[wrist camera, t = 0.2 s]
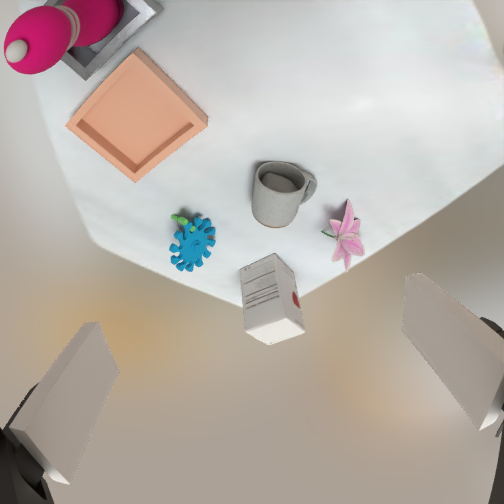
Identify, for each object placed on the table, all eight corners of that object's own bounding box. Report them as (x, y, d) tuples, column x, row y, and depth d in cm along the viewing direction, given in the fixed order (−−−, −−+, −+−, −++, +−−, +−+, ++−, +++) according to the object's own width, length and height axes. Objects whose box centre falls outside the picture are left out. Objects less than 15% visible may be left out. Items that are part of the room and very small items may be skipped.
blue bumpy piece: (222, 252, 60) (182, 284, 54) (201, 240, 63) (163, 269, 57) (212, 203, 52) (165, 236, 47) (189, 194, 55) (145, 223, 50)
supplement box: (294, 272, 70) (307, 333, 60) (260, 287, 73) (267, 346, 63) (275, 251, 63) (286, 317, 54) (238, 268, 67) (243, 333, 57)
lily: (353, 238, 64) (384, 257, 56) (308, 265, 62) (336, 288, 54) (344, 187, 58) (378, 201, 50) (294, 212, 56) (325, 231, 48)
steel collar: (44, 21, 24) (25, 29, 21) (105, -45, 19) (89, -46, 16) (99, 68, 32) (85, 80, 28) (163, 8, 27) (155, 12, 24)
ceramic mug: (248, 200, 52) (253, 234, 47) (252, 159, 46) (259, 191, 41) (308, 200, 54) (320, 233, 49) (319, 162, 48) (333, 193, 43)
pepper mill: (113, 44, 29) (38, 108, 17) (66, 30, 26) (-30, 89, 13) (137, -5, 25) (65, 17, 12) (87, -20, 22) (-13, 3, 9)
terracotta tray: (72, 116, 36) (64, 126, 34) (138, 47, 30) (132, 52, 29) (138, 171, 45) (135, 182, 43) (208, 116, 40) (207, 126, 38)
